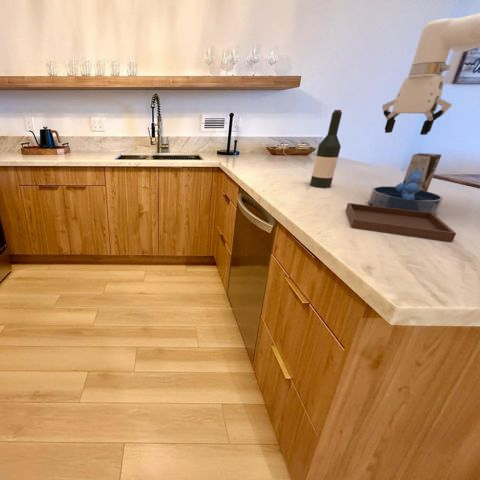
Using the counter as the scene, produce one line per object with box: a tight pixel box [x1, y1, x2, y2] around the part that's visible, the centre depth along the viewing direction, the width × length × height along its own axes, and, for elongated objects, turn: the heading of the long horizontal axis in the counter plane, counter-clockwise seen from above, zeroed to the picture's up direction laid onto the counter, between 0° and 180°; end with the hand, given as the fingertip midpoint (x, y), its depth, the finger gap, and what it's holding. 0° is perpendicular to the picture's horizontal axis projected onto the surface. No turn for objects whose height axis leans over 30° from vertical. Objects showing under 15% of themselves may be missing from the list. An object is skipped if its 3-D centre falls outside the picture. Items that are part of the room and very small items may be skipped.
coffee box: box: [402, 152, 442, 192], centre depth 101 cm, size 9×6×16 cm
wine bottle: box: [309, 109, 343, 189], centre depth 118 cm, size 8×8×30 cm
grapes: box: [394, 170, 423, 200], centre depth 94 cm, size 12×7×12 cm, turn 140°
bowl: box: [368, 185, 444, 215], centre depth 96 cm, size 18×18×5 cm
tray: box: [345, 202, 457, 243], centre depth 82 cm, size 22×18×2 cm
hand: (405, 133), depth 91 cm, fingers open, 9 cm apart
